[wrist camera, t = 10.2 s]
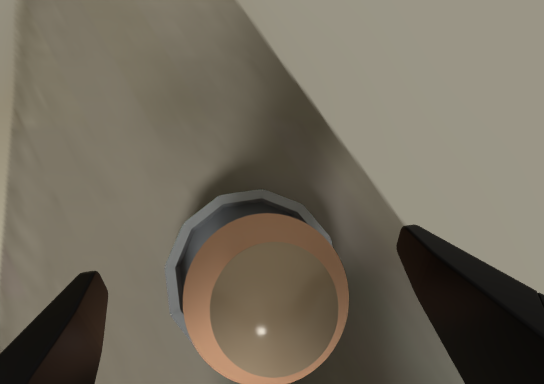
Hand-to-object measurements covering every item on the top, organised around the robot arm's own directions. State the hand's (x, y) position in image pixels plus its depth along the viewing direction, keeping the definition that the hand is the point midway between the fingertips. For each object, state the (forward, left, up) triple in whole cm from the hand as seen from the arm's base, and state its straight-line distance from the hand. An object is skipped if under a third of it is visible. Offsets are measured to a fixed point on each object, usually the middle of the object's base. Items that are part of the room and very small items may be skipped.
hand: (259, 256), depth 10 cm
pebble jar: (-1, +1, -12) cm, 12 cm away
